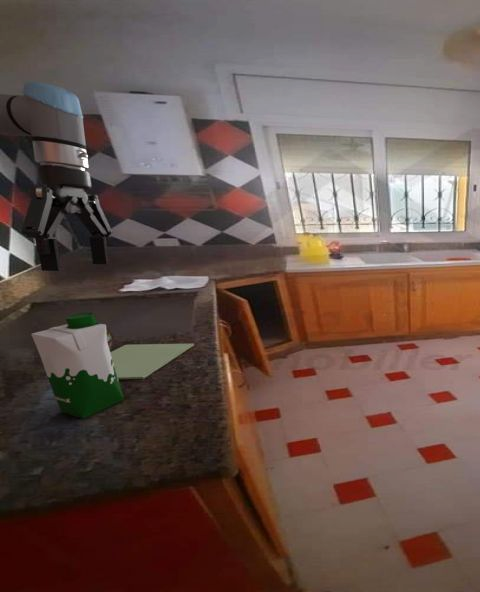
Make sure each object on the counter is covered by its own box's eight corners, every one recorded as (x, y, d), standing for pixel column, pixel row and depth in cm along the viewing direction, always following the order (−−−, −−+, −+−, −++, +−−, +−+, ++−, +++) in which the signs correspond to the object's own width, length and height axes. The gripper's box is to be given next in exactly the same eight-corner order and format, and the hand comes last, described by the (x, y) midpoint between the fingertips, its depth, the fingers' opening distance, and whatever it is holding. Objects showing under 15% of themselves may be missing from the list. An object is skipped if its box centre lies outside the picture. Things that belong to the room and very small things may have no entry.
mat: (57, 381, 77) (57, 378, 77) (126, 346, 97) (125, 344, 96) (143, 379, 79) (143, 376, 79) (194, 345, 98) (194, 343, 98)
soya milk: (131, 398, 71) (108, 314, 66) (79, 423, 63) (47, 329, 57) (105, 391, 74) (81, 310, 68) (52, 414, 65) (19, 324, 60)
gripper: (30, 156, 56) (50, 274, 60) (124, 178, 80) (133, 262, 84) (-25, 151, 54) (-2, 273, 58) (87, 175, 78) (99, 261, 82)
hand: (78, 267), depth 71 cm, fingers open, 13 cm apart
